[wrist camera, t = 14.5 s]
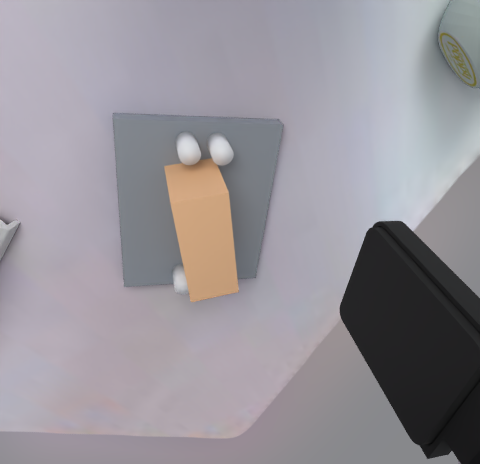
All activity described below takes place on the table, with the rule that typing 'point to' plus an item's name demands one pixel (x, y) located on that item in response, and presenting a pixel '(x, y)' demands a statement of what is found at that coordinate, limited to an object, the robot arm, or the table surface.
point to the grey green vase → (462, 39)
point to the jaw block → (203, 228)
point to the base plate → (157, 196)
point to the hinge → (6, 235)
